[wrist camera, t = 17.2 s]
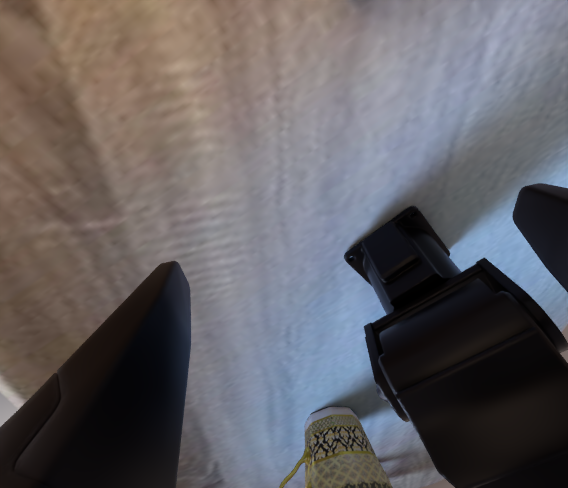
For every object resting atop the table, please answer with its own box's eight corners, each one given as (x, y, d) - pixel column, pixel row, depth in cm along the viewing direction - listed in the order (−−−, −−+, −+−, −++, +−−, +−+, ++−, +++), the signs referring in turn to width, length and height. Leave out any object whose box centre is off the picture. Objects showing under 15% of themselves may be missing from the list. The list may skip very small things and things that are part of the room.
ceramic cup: (381, 399, 41) (417, 496, 33) (350, 437, 46) (374, 527, 39) (282, 396, 38) (295, 503, 30) (261, 437, 43) (267, 537, 35)
